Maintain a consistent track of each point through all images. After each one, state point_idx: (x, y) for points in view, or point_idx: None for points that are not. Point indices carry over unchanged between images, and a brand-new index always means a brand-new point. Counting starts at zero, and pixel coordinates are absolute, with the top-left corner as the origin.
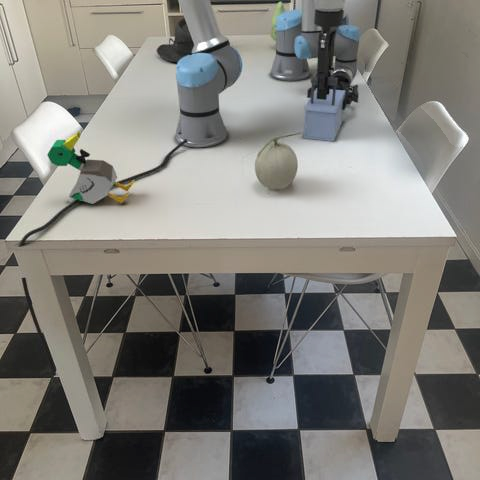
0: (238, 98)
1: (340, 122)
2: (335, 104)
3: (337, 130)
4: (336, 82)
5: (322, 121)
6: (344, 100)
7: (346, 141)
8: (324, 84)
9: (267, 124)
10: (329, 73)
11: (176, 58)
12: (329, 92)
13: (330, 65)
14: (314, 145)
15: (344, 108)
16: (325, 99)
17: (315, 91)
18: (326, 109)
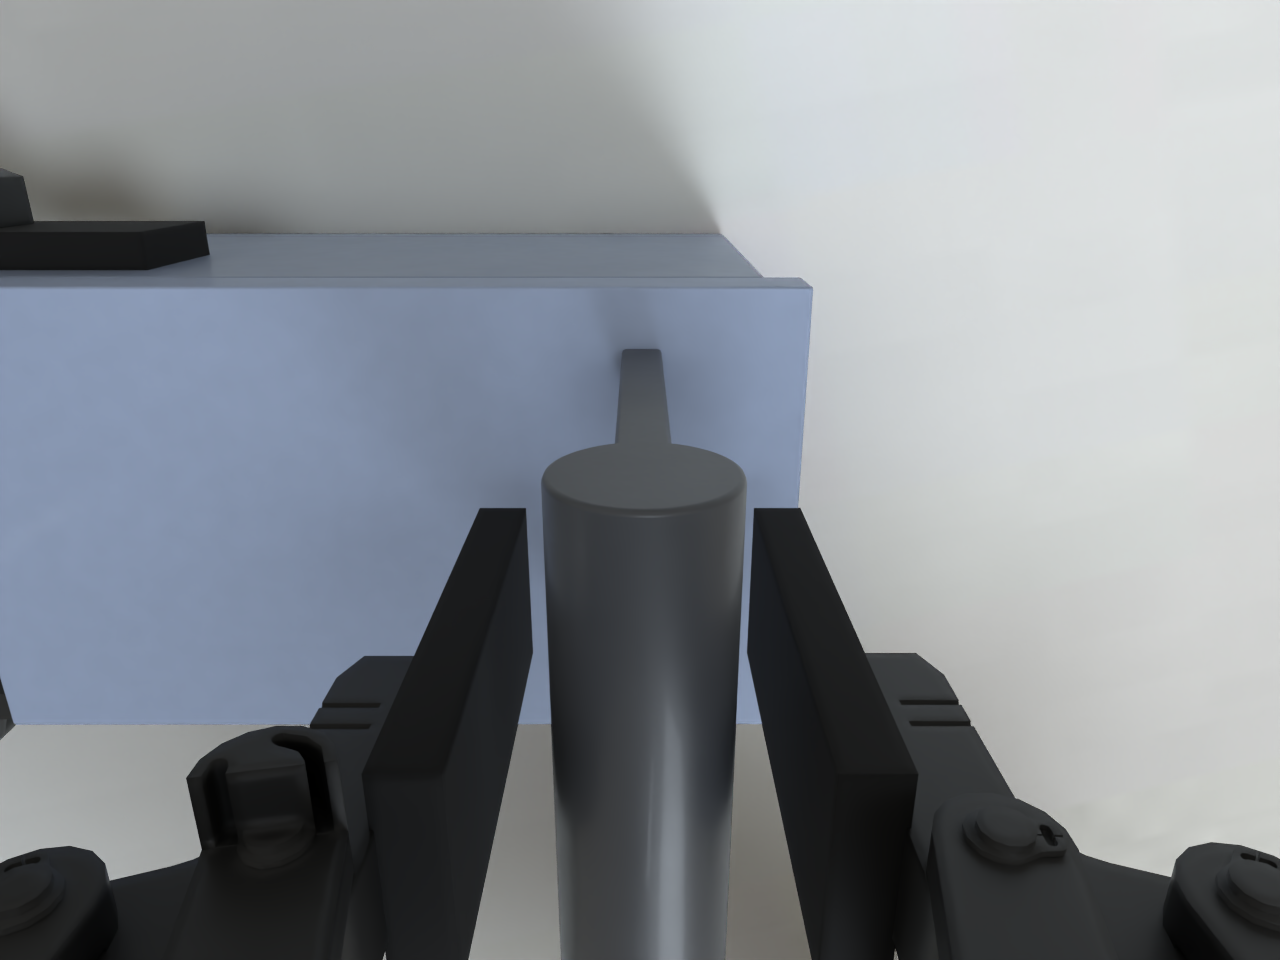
0: None
1: (310, 238)
2: (602, 336)
3: (505, 236)
4: (710, 473)
5: None
6: (100, 252)
7: (684, 94)
8: (915, 706)
9: (511, 859)
10: (454, 771)
11: None
12: (105, 519)
13: (331, 949)
14: (856, 400)
15: (194, 225)
16: (800, 517)
17: (160, 709)
18: (799, 433)
